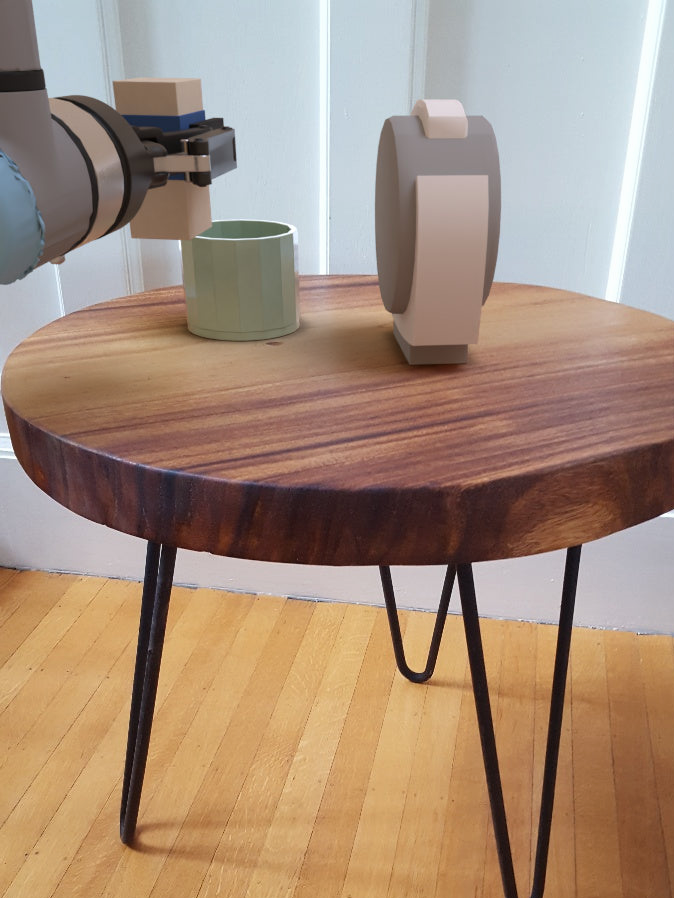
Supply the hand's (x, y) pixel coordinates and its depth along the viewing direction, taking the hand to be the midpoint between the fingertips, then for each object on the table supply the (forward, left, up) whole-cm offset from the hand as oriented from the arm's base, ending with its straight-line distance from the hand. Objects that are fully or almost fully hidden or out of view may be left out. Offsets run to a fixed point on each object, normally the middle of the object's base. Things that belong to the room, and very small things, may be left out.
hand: (185, 137), depth 74 cm
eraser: (0, -5, -6) cm, 8 cm away
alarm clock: (+19, +10, -18) cm, 28 cm away
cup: (0, +15, -18) cm, 23 cm away
